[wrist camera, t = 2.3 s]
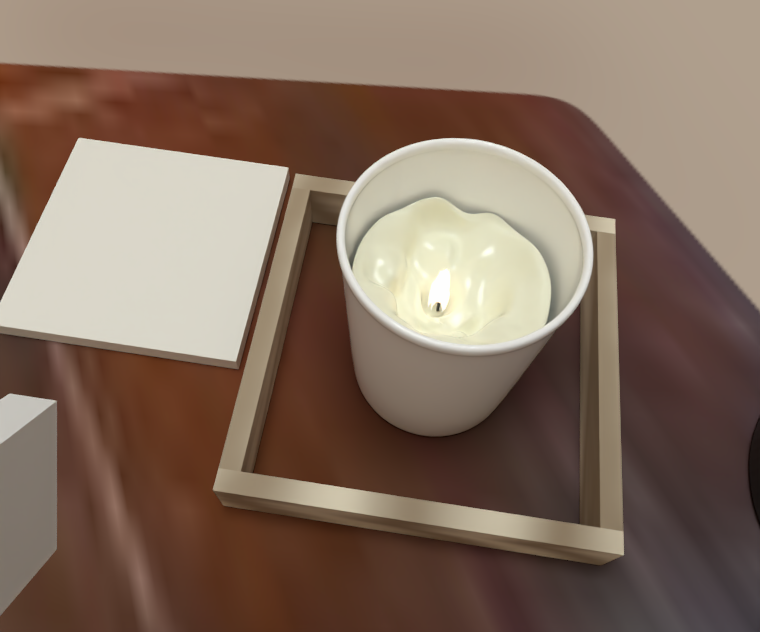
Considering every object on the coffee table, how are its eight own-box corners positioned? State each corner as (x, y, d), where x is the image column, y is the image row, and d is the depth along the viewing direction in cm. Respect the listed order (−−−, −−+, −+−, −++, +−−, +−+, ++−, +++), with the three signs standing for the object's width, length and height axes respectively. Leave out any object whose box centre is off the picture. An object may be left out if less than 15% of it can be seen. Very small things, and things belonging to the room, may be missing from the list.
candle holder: (364, 268, 39) (371, 115, 28) (533, 306, 38) (604, 164, 28) (317, 426, 34) (304, 315, 24) (507, 474, 34) (582, 380, 23)
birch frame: (597, 249, 40) (614, 219, 37) (600, 565, 32) (624, 555, 29) (299, 206, 41) (296, 173, 38) (223, 505, 32) (212, 490, 30)
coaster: (289, 178, 42) (288, 167, 41) (238, 369, 35) (235, 361, 35) (84, 149, 42) (78, 137, 41) (-2, 332, 36) (-11, 324, 35)
